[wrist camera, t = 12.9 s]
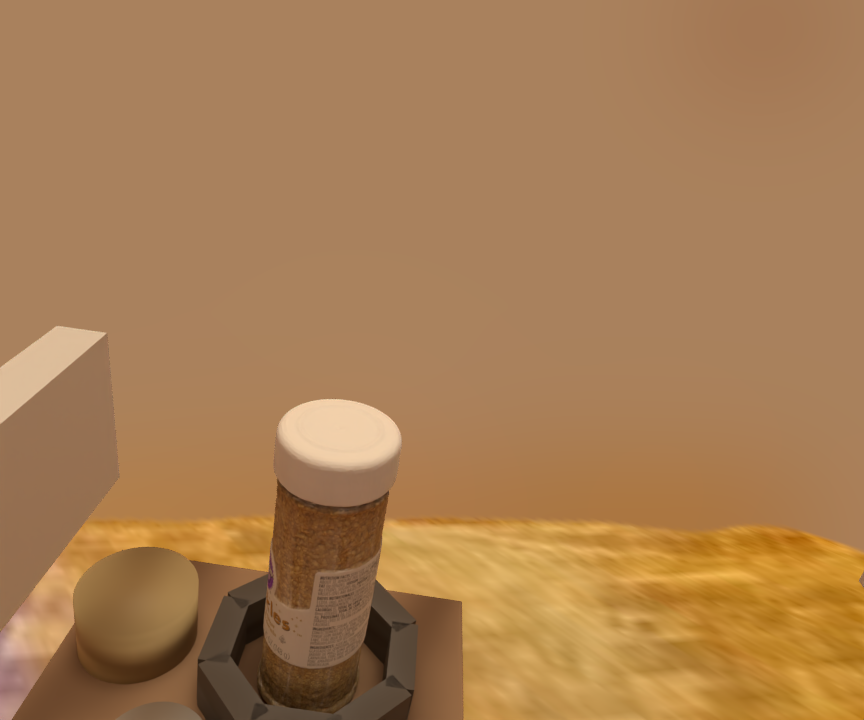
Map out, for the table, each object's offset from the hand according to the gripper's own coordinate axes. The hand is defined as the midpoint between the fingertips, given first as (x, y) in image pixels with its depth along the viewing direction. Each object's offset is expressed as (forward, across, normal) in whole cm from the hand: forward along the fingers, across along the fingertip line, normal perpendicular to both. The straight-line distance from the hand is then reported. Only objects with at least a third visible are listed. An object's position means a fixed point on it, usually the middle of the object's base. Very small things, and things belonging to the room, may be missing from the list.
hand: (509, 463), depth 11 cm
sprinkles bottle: (+11, -4, -21) cm, 24 cm away
